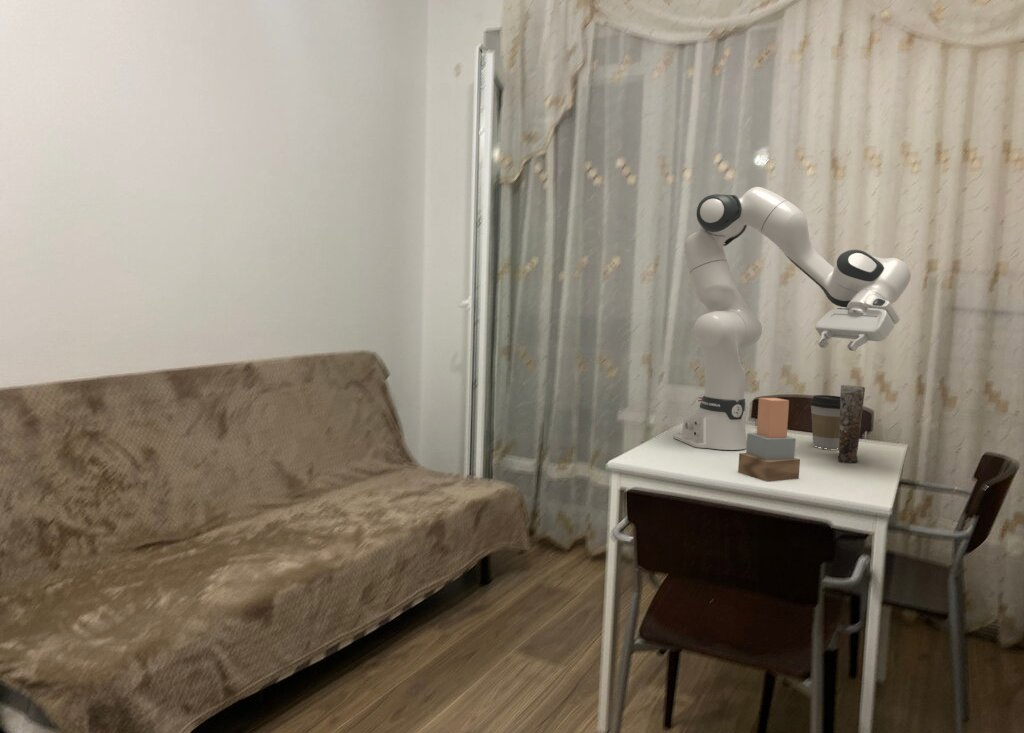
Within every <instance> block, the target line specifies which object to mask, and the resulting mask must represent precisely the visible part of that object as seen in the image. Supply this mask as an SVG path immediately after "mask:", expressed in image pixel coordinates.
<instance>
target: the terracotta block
mask: <svg viewBox="0 0 1024 733" xmlns="http://www.w3.org/2000/svg"><path fill="white" fill-rule="evenodd" d="M789 404H790V400H789V399H784V398H779V397H758V406H757V408H758V409H757V421H756V422H757V424H756V433H757V435H761V436H764V437H768V438H784V437H787V436H788V423H789V407H790V405H789Z"/></svg>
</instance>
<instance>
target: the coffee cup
mask: <svg viewBox="0 0 1024 733" xmlns="http://www.w3.org/2000/svg"><path fill="white" fill-rule="evenodd" d="M808 405H809V406H810V409H811V410H810V413H811V431H812V444H813V447H814V446H817V447H821V448H827V449H837V448H839V436H840V396H838V395H828V394H827V395H826V394H817V395H816V394H814V395H813V398H812V399H811V400H810V401H809V404H808Z"/></svg>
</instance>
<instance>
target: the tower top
mask: <svg viewBox="0 0 1024 733" xmlns="http://www.w3.org/2000/svg"><path fill="white" fill-rule="evenodd" d="M746 441H747V445H746V446H747V448H745V449H746V450H745V453H747V454H750V455H753V456H756V457H759V458H762V459H765V460H780V459H794V458H795V455H796V454H795V453H796V438H795V437H792V436H788V435H787V437H784V438H768V437H764V436H761V435H757V432H748V433H747V436H746Z"/></svg>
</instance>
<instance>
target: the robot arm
mask: <svg viewBox="0 0 1024 733" xmlns="http://www.w3.org/2000/svg"><path fill="white" fill-rule="evenodd" d="M696 208H697V209H696V220H697V221H698V223H699V226H700V227H701V228H700V229H699V230H698V231H696V232H693V233H692V234H690V235H689V236H688V237H687V238H686V240H685V242H684V253H685V260H686V265H687V269H688V273H689V276H690V278H691V281H692V285H693V288H694V291H695V294H696V297H697V299H698V301H699V302H700V303H702V305H703V306H704V307H705V308H706V309H707V311H708V312H707V313H704V314H703V315H700V316H699V317H698V318H697V320H696V321H695V323H694V326H693V335H694V338H695V341H696V342H697V343H698V344H699V346H700V348H701V353H702V357H703V361H704V367H705V368H704V370H705V374H704V375H705V377H704V378H705V380H704V381H705V382H704V395H703V396H702V397H698V400H697V401H698V402H700V403H699V408H698V409H696V410H695V411H694V412H693V413H691V414H689V415H688V416H687V417H686V418H685V419H684V421H683V424H682V431H681V433H676V434H674V435H673V438H674V439H676V440H677V441H680V442H682V443H684V444H687V445H689V446H692V447H694V448H701V449H703V448H704V449H713V450H723V451H740V450H741V451H742V450H745V449H746V448H747V436H746V418H745V415H744V413H745V411H746V405H747V404H746V398H745V391H746V390H745V387H746V386H745V385H746V369H745V368H744V367H743V366H742V363H741V359H740V354H739V350H742V349H747V348H749V347H751V346H753V345H755V344H756V343H757V342H758V341H759V340H760V338H762V337H761V336H762V332H763V327H762V323H761V321H760V320H759V318H758V317H757V316H756V315H755V314H753V313H752V311H751V309H750V308H749V307H748V305H747V304H746V302H745V300H744V299H743V297H742V295H741V293H740V292H739V290H738V288H737V285H736V283H735V281H734V278H733V275H732V272H731V269H730V266H729V264H728V261H727V257H726V254H725V250H724V246H725V247H726V246H728V245H730V244H731V243H732V242H733V241H734V240H737V238H739V237H741V235H743V234H744V232H745V231H746V229H747V226H749V227H752V228H753V229H756V230H757V232H759V233H760V234H762V235H763V236H765V237H767V239H769V241H771V242H772V243H773V244H775V245H776V246H777V247H778V248H779V249H780V250H781V252H783V254H784V256H786V258H788V260H789V261H790V262H791V263H792V264H794V265H795V266H796V267H797V268H798V269H799V270H800V271H801V272H803V274H805V275H806V276H807V277H808V278H809V279H811V280H812V282H814V283H815V284H816V285H817V286H818V287H819V288H821V290H822V291H823V293H824V295H825V296H826V297H827V299H828V300H829V301H830V303H831V304H833V305H835V306H837V307H838V308H834V309H831V310H829V311H828V312H826V313H825V314H824V315H823V316H822V317H821V318H820V319H819V320H818V322H816V324H815V325H814V326H815V330H816V332H817V333H818V334H819V336H820V339H819V341H818V342H817V344H818V346H819V347H820V348H823V349H824V348H827V346H829V345H830V343H829V341H828V340H830V339H831V338H834V339H835V338H838V339H848V340H851V341H850V342H849V343H848V344H847V346H846V347H847V349H848V351H851V352H852V351H853V352H856V350H857V349H858V348H859V347H861V346H863V345H864V344H867V343H868V342H870V341H871V342H882V341H884V340H885V339H886V338H887V337H888V336H889V335H890V334H891V332H892V331H893V330H894V328H895V325H897V324H898V323H899V321H900V318H899V315H898V314H897V312H896V310H895V308H894V307H893V304H894V303H895V302H897V301H898V300H899V298H900V297H901V296H902V294H903V293H904V292H905V290H906V289H907V287H908V285H909V283H910V281H911V277H912V276H911V275H912V274H911V269H910V268H909V266H908V265H907V264H906V263H905V262H904V261H903V260H901V259H899V258H897V257H887V258H886V257H878V256H874V255H871V254H870V253H867V252H865V251H863V250H861V249H849V250H846V251H844V252H842V253H841V254H839V256H838V257H837V260H836V262H835V265H834V266H833V265H832V264H831V263H829V262H828V261H827V260H825V258H823V257H822V255H820V254H819V253H818V252H817V251H816V250H815V249H814V247H813V245H812V242H811V238H810V234H809V224H808V220H807V217H806V215H805V213H803V212H802V210H801V209H800V208H799V207H798V206H796V205H795V204H794V203H792V202H791V201H789V200H788V199H787V198H784V197H783V196H782V195H780V194H777V193H776V192H774V191H771V190H769V189H767V188H765V187H762V186H754V187H752V188H750V189H748V190H746V192H745V193H744V194H743V195H742V196H741V197H738V196H737V195H735V194H721V193H720V194H719V193H714V194H710V195H709V194H708V195H707V196H705V197H703V199H702V200H700V202H699V203H698V206H697V207H696ZM852 340H853V341H852Z"/></svg>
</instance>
